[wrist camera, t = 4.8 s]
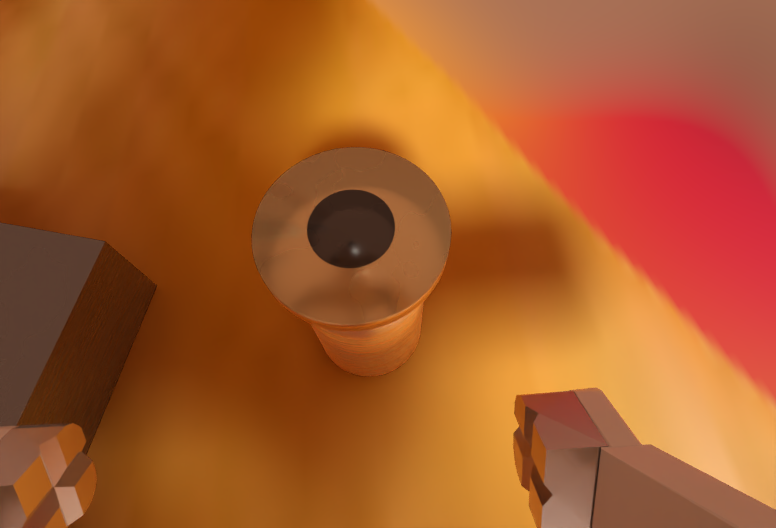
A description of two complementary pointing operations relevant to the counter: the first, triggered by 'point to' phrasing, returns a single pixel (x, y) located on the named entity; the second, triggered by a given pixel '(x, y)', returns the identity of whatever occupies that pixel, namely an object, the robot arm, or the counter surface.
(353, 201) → the bushing
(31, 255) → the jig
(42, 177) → the counter surface
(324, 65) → the counter surface
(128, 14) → the counter surface
